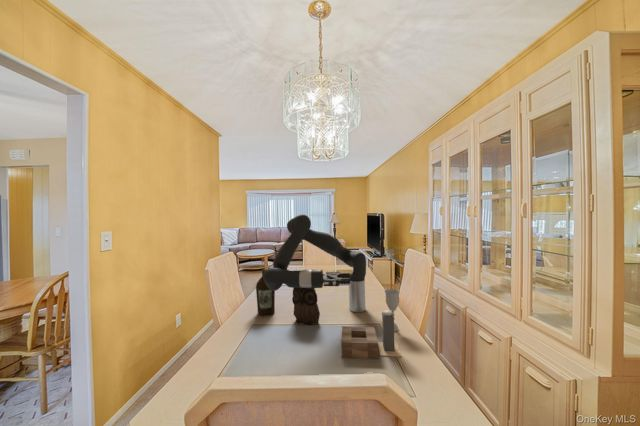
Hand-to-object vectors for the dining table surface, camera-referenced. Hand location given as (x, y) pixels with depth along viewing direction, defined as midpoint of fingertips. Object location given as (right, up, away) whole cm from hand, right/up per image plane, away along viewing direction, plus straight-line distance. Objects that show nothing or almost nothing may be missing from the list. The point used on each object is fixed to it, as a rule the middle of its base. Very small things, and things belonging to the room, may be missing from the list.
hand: (350, 278), depth 107 cm
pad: (+16, -29, -2) cm, 33 cm away
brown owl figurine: (-18, -30, +29) cm, 46 cm away
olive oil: (-43, -30, +41) cm, 67 cm away
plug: (+16, -28, -2) cm, 32 cm away
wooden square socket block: (+4, -29, 0) cm, 29 cm away
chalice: (+23, -29, +17) cm, 40 cm away
